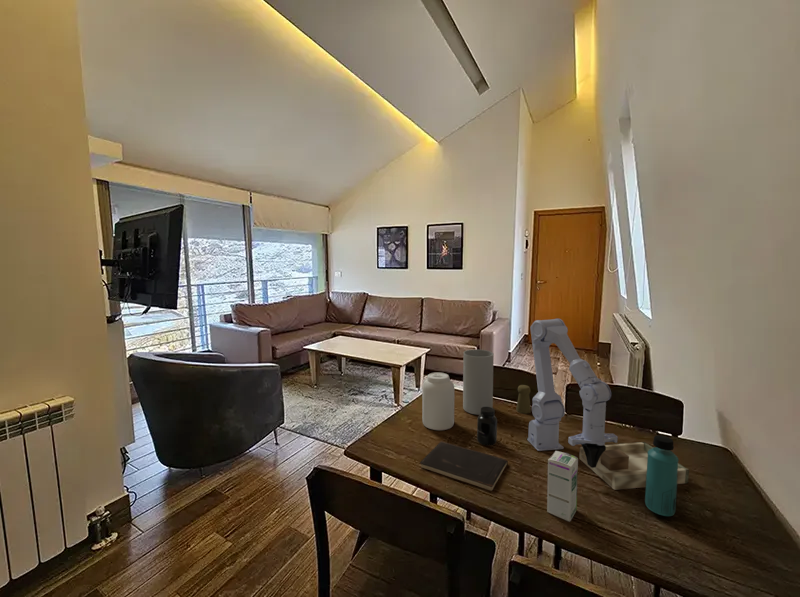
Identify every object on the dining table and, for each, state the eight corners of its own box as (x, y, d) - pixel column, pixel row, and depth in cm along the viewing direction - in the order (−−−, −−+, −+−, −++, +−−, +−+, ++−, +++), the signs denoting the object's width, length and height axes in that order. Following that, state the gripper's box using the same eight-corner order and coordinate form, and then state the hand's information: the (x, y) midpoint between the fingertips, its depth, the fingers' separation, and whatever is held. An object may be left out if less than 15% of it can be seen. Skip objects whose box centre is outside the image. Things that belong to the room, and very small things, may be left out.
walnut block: (609, 470, 106) (610, 457, 106) (600, 463, 110) (601, 450, 110) (628, 469, 107) (628, 456, 107) (618, 461, 111) (619, 449, 110)
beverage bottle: (677, 526, 86) (683, 447, 84) (643, 516, 90) (648, 440, 88) (673, 510, 92) (679, 436, 90) (642, 501, 95) (647, 429, 93)
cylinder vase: (486, 418, 146) (487, 358, 144) (458, 411, 153) (458, 354, 151) (496, 407, 157) (497, 351, 154) (469, 401, 164) (470, 348, 161)
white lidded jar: (416, 424, 141) (415, 375, 139) (434, 414, 151) (434, 368, 148) (442, 434, 133) (442, 382, 131) (460, 422, 142) (460, 374, 140)
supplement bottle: (475, 444, 126) (475, 411, 125) (478, 435, 132) (479, 404, 131) (495, 447, 123) (496, 414, 122) (497, 438, 130) (498, 406, 128)
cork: (528, 408, 156) (529, 383, 155) (532, 413, 150) (533, 388, 149) (514, 407, 157) (515, 383, 156) (517, 413, 151) (518, 388, 150)
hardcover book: (492, 493, 100) (492, 486, 100) (419, 469, 112) (419, 462, 112) (507, 465, 113) (507, 458, 113) (441, 446, 125) (441, 440, 125)
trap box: (614, 489, 100) (615, 476, 100) (579, 458, 116) (579, 447, 116) (687, 482, 103) (689, 469, 102) (643, 453, 119) (644, 442, 118)
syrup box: (570, 522, 88) (572, 467, 86) (545, 512, 92) (547, 458, 90) (576, 510, 92) (579, 457, 91) (553, 500, 96) (555, 449, 94)
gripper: (579, 430, 101) (577, 475, 103) (626, 427, 103) (623, 471, 104) (564, 419, 108) (563, 461, 110) (609, 416, 110) (606, 458, 111)
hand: (591, 465), depth 108 cm, fingers closed
